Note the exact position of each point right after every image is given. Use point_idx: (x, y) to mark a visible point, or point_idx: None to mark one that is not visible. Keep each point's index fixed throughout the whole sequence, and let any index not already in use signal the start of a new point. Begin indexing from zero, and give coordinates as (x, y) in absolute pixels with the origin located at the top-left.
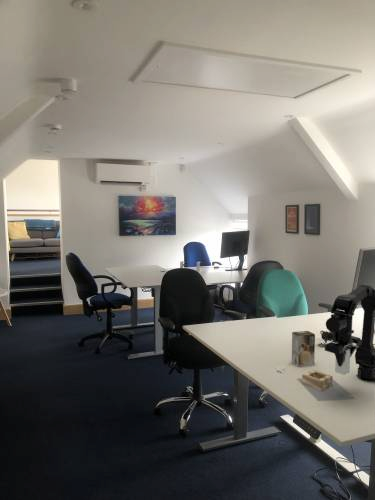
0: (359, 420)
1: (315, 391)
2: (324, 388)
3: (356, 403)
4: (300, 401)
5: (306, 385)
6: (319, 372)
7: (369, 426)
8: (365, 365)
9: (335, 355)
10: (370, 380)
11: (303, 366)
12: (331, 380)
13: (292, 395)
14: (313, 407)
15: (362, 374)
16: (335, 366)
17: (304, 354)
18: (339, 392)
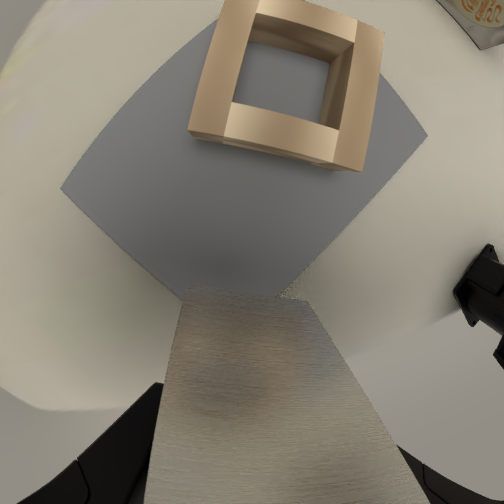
0: (62, 382)
1: (164, 117)
2: (243, 147)
3: None
4: (21, 121)
5: None
6: (364, 69)
7: (59, 408)
8: None
9: (29, 501)
10: (463, 311)
11: (442, 3)
12: (336, 168)
13: (57, 55)
14: (8, 200)
15: (481, 289)
16: (178, 320)
17: None
18: (251, 244)
